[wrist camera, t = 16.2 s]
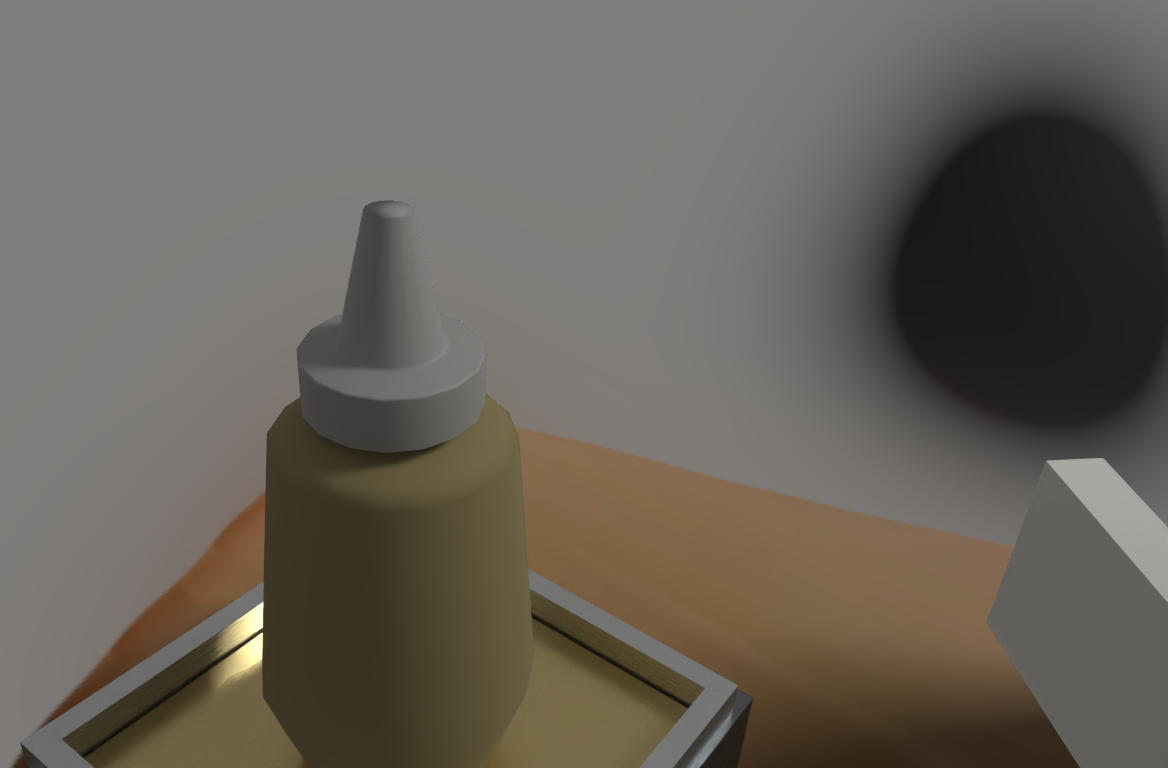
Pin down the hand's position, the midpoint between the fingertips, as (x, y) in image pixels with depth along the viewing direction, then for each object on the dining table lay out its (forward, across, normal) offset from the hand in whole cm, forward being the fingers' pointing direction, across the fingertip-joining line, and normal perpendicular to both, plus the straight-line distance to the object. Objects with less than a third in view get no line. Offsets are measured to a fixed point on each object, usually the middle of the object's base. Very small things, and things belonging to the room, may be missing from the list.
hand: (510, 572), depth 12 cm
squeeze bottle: (+13, -2, -20) cm, 24 cm away
